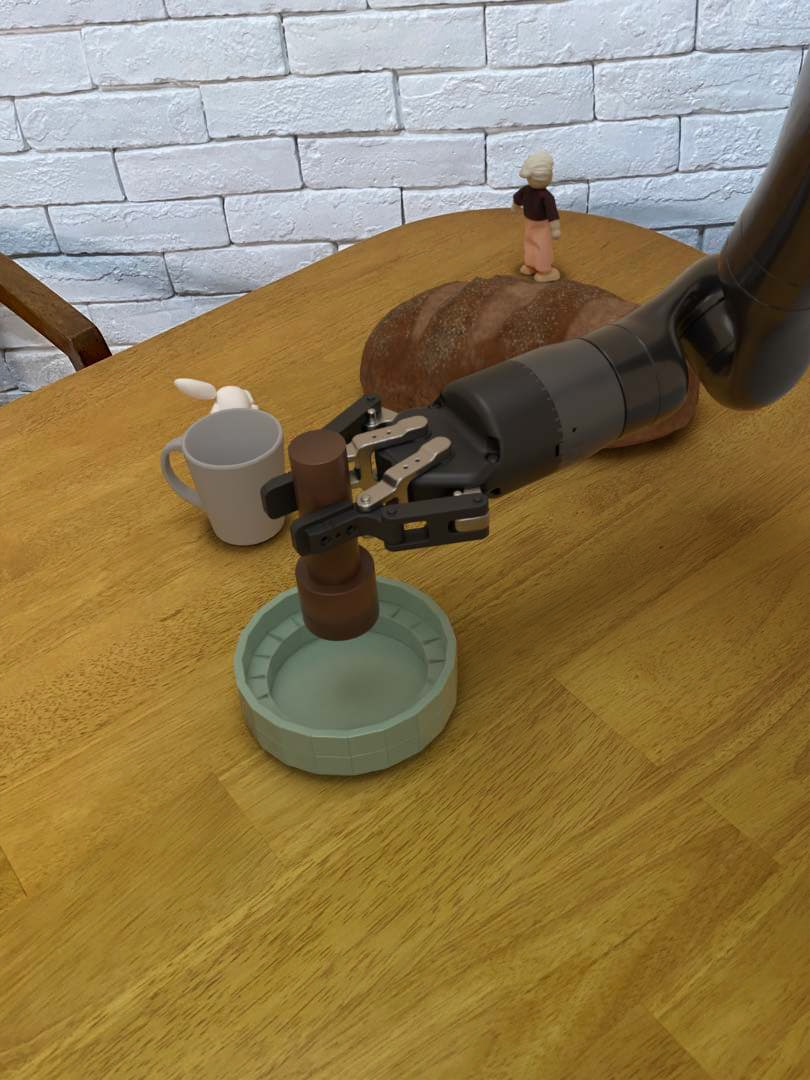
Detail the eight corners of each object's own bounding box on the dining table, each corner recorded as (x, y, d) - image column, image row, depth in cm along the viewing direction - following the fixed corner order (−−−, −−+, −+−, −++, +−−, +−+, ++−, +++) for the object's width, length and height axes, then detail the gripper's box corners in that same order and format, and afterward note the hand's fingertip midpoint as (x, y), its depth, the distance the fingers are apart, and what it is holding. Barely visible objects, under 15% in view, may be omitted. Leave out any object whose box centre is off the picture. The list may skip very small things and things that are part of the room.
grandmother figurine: (577, 276, 116) (582, 155, 108) (552, 290, 114) (555, 168, 106) (521, 253, 120) (522, 136, 112) (497, 266, 119) (496, 148, 110)
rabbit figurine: (280, 428, 99) (207, 431, 93) (255, 451, 101) (183, 455, 95) (254, 370, 100) (181, 370, 94) (231, 394, 103) (158, 395, 97)
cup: (281, 560, 86) (265, 471, 80) (158, 548, 88) (134, 460, 82) (308, 497, 91) (295, 410, 86) (192, 487, 93) (172, 401, 88)
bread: (688, 476, 90) (704, 354, 83) (340, 438, 97) (325, 322, 90) (701, 371, 101) (717, 255, 94) (388, 343, 108) (379, 233, 101)
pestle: (393, 620, 70) (376, 452, 61) (325, 653, 68) (297, 484, 59) (356, 576, 73) (334, 410, 64) (289, 606, 71) (258, 440, 62)
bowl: (499, 718, 73) (499, 672, 70) (304, 820, 68) (295, 774, 65) (389, 592, 82) (385, 546, 79) (211, 674, 77) (199, 628, 74)
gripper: (466, 315, 71) (216, 408, 65) (606, 421, 62) (330, 541, 56) (469, 412, 76) (237, 507, 70) (599, 524, 67) (345, 644, 61)
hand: (280, 521), depth 63 cm, fingers closed on pestle, 3 cm apart
